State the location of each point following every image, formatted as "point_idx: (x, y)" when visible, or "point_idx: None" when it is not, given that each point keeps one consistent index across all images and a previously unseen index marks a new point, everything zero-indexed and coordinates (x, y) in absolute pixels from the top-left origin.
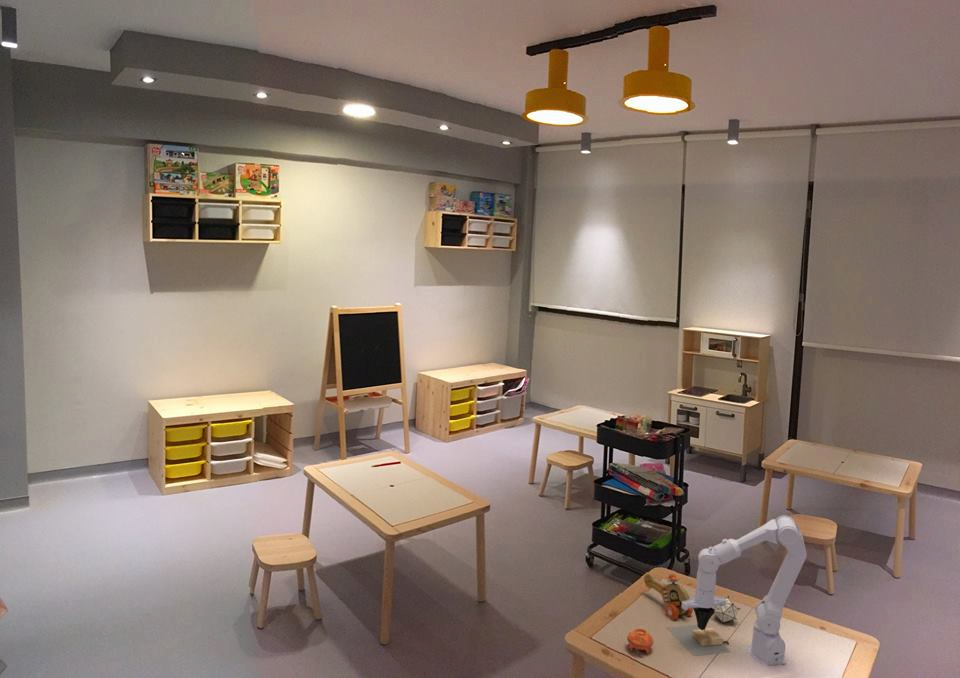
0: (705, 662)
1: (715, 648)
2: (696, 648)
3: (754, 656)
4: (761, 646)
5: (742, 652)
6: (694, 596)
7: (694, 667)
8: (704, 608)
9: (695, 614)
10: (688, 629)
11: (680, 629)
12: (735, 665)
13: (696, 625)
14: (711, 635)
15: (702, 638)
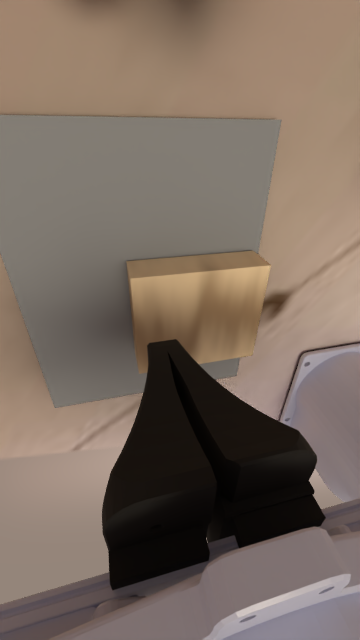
0: (95, 421)
1: None
2: (95, 361)
3: (292, 397)
4: (325, 449)
5: (280, 365)
6: (211, 584)
7: (32, 447)
8: (218, 525)
9: (139, 411)
10: (145, 176)
11: (80, 166)
12: None
13: (234, 132)
14: (213, 335)
15: (145, 359)
